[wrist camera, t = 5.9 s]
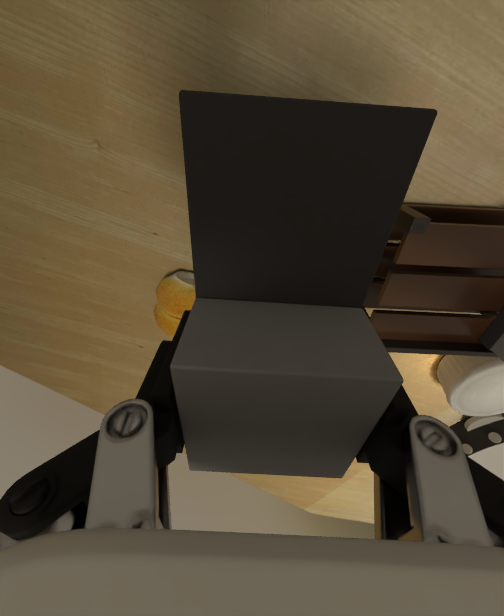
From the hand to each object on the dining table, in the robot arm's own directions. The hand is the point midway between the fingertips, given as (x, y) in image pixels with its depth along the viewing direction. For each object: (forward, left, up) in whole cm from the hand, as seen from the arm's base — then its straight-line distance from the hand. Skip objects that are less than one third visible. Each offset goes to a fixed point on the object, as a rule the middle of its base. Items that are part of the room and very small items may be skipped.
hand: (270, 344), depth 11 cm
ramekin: (+18, +31, -18) cm, 40 cm away
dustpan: (-3, 0, -1) cm, 3 cm away
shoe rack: (+3, +19, -18) cm, 26 cm away
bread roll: (+10, -8, -18) cm, 22 cm away
